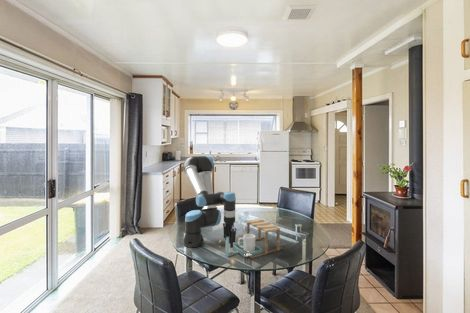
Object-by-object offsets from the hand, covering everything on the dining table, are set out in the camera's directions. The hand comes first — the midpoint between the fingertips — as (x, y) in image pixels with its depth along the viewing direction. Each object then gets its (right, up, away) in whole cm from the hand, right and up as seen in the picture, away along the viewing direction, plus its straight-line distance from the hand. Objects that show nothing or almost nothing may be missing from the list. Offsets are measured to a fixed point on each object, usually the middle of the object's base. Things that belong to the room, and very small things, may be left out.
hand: (229, 250), depth 172 cm
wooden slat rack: (+20, -2, +13) cm, 24 cm away
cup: (+12, -3, +9) cm, 15 cm away
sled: (+8, -2, +5) cm, 10 cm away
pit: (+34, -2, +22) cm, 41 cm away
